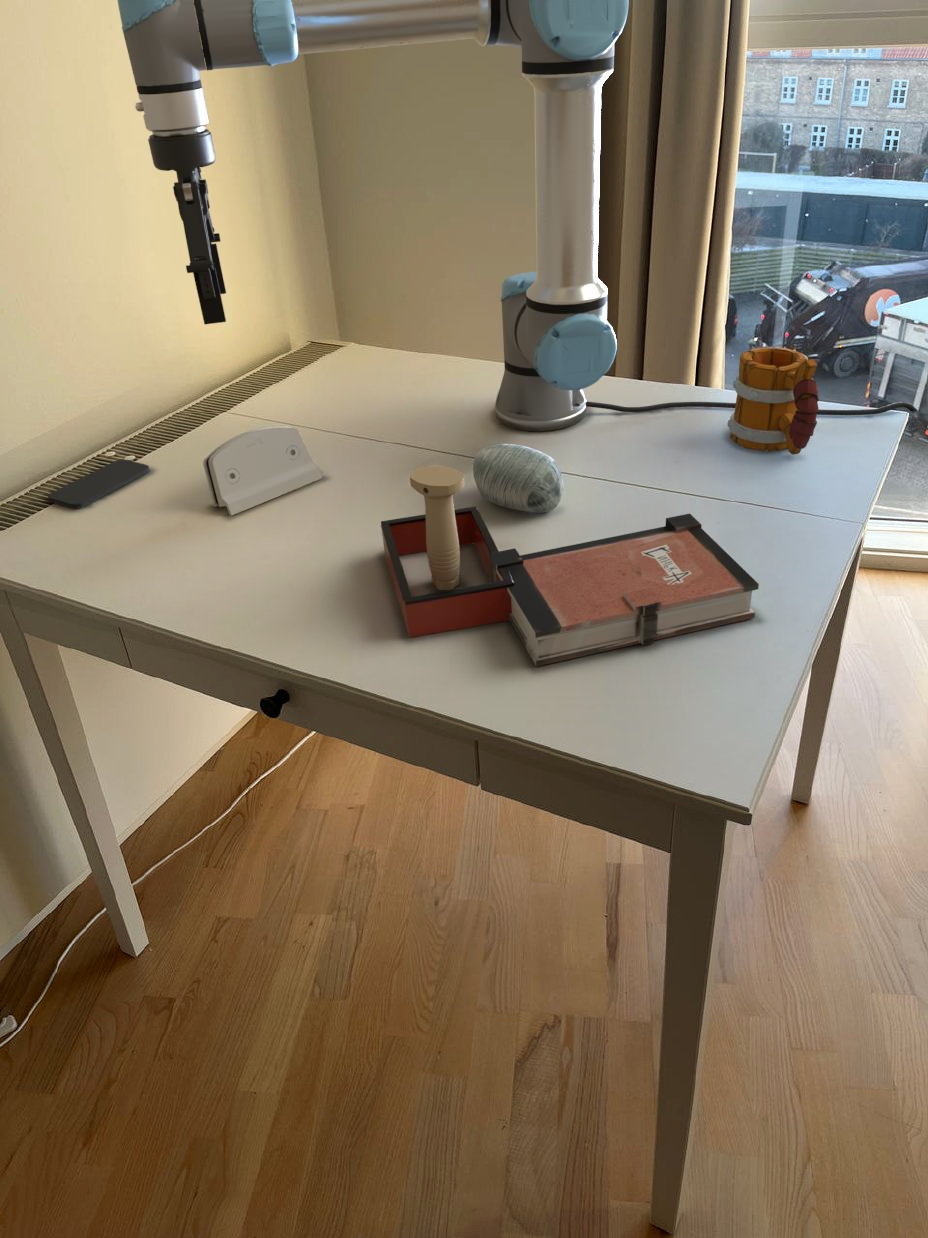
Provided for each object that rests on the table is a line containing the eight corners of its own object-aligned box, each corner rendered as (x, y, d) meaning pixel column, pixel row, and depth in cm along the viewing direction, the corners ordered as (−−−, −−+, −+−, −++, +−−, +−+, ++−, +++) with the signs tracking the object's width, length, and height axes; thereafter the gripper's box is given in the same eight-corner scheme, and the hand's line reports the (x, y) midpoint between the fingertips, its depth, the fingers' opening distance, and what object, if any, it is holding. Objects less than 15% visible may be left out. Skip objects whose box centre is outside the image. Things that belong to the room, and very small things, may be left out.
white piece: (229, 516, 137) (203, 449, 134) (216, 516, 141) (190, 451, 138) (324, 477, 146) (302, 413, 143) (309, 478, 150) (288, 416, 147)
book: (538, 670, 103) (537, 632, 100) (491, 588, 117) (489, 553, 114) (757, 621, 108) (762, 583, 105) (687, 548, 122) (689, 513, 119)
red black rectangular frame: (478, 539, 128) (476, 505, 125) (516, 619, 112) (515, 583, 109) (384, 554, 126) (379, 521, 123) (408, 638, 110) (404, 602, 107)
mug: (773, 418, 154) (784, 325, 145) (837, 457, 141) (854, 358, 132) (713, 430, 151) (722, 337, 143) (773, 472, 138) (786, 371, 130)
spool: (587, 480, 132) (552, 429, 126) (551, 533, 130) (514, 483, 124) (520, 474, 143) (485, 427, 137) (486, 523, 140) (448, 476, 134)
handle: (435, 569, 122) (425, 462, 113) (478, 582, 119) (471, 472, 110) (414, 588, 119) (402, 478, 110) (457, 601, 116) (448, 489, 107)
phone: (152, 465, 152) (76, 505, 142) (153, 470, 152) (78, 510, 142) (120, 457, 155) (44, 496, 145) (121, 462, 156) (45, 500, 145)
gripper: (153, 121, 125) (190, 286, 137) (139, 148, 105) (183, 339, 117) (211, 115, 126) (242, 280, 138) (208, 141, 106) (245, 331, 118)
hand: (215, 307), depth 127 cm, fingers open, 13 cm apart
